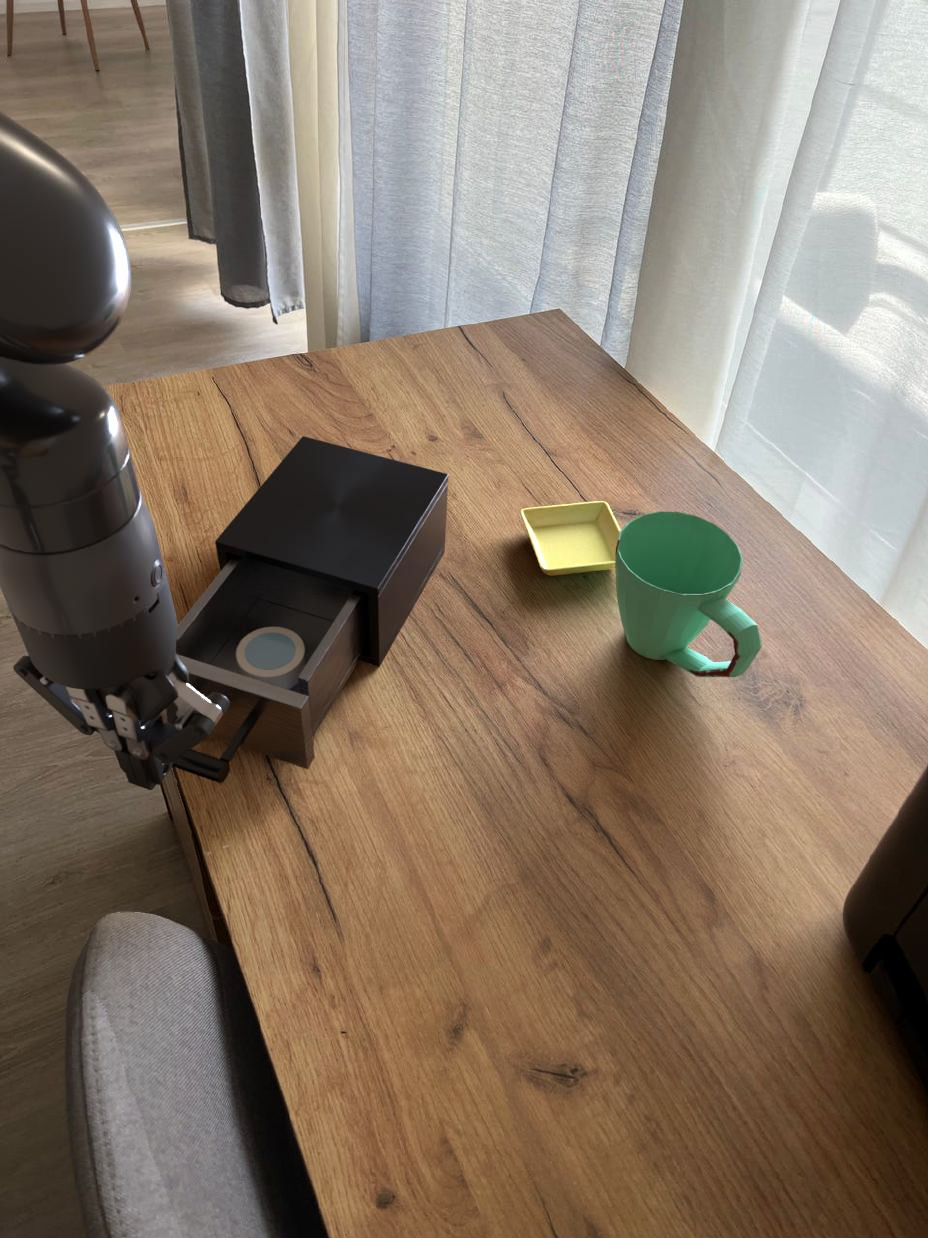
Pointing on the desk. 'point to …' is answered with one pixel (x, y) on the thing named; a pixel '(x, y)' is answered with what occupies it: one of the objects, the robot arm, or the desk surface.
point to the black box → (348, 528)
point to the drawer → (257, 708)
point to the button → (272, 656)
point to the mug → (681, 591)
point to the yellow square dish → (572, 537)
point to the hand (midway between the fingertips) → (150, 775)
